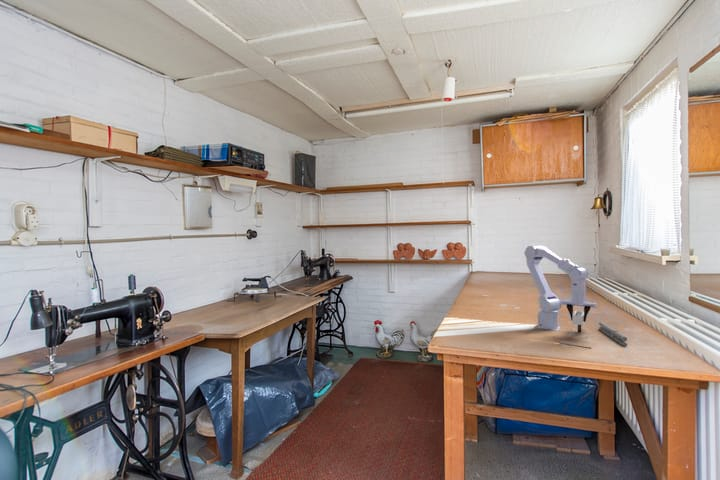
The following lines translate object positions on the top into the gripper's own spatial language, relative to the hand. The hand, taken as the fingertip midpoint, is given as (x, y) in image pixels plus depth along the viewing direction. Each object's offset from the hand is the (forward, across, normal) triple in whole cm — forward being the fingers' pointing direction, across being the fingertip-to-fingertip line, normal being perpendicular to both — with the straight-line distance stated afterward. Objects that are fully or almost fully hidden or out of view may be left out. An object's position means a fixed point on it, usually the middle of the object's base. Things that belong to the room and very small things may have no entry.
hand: (578, 320), depth 174 cm
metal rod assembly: (+8, +13, +4) cm, 16 cm away
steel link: (+1, 0, +3) cm, 3 cm away
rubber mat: (+7, 0, -12) cm, 14 cm away
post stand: (+7, 0, +3) cm, 8 cm away
